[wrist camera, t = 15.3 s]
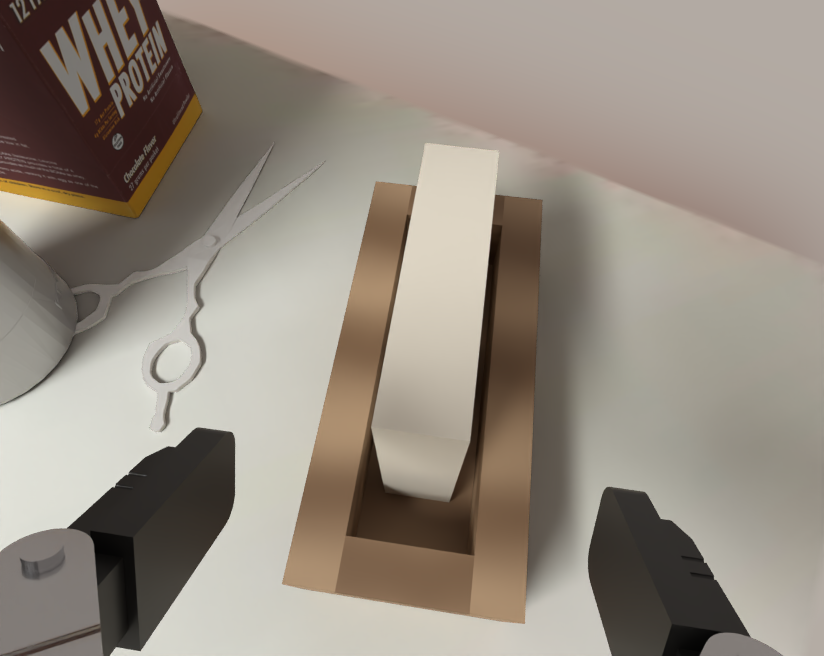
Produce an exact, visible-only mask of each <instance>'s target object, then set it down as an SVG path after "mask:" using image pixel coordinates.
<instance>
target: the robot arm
mask: <svg viewBox="0 0 824 656" xmlns="http://www.w3.org/2000/svg"><path fill="white" fill-rule="evenodd" d="M77 319H78V315H77V303H76V300H75V298H74V295H73V292H72V291H71V289H70V288H69V287H68V285H67V284H66V283H65V281H64V280H63V279H62V278H60V277H59V276H58V275H57V274H56V273H55V272H54V270H53V269H52V268H50V266H49V265H48V264H47V263H46V262H45V261H44V260H43V259H42V258H41V257H40V256H38V255H37V254H35V253H34V252H33V251H32V250H31V249H30V248H29V247H28V246H27V245H26V244H25V243H24V242H23V241H22V240H21V239H20V238H19V237H18V236H17V235H16V234H15V233H14V232H13V231H12V230H11V229H10V228H9V227H7V226H6V225H5V224H4V223H3V222H2V221H1V220H0V405H1V404H3V403H6V402H9V401H11V400H12V399H14V398H16V397H18V396H20V395H21V394H23V393H25V392H27V391H28V390H30V389H31V388H32V387H33V386H35V385H36V384H37V383H39V382H40V381H41V380H43V379H44V378H45V377H46V376H47V375H48V374H49V373H50V372H51V370H52V369H53V368H54V367H55V366H56V365H57V364H58V363H59V361H60V360H61V358H62V357H63V355H64V354H65V352H66V351H67V350H68V348H69V345H70V343H71V341H72V338H73V336H74V334H75V329H76V324H77ZM234 497H235V438H234V435H233V433H232V432H227V431H220V430H213V429H206V428H195V429H194V430H193V431H192V432H191V433H190V434H189V435H188V436H187V437H186V438H185V439H184V440H183V441H182V442H181V443H180V444H179V445H177V446H176V447H169V446H168V447H166V448H164V449H162V450H160V451H157V452H155V453H153V454H151V455H149V456H147V457H145V458H144V459H143V460H142V461H141V462H140V463H138V464H137V465H136V466H135V467H134V468H133V469H132V470H131V471H130V472H129V475H125V476H124V477H123V478H122V479H121V480H120V481H119V482H118V483H116V486H115V488H114V487H112V488H111V489H110V490H109V491H108V492H107V493H105V494H104V495H103V496H102V497H101V498H100V499H99V500H98V501H97V502H95V503H94V504H93V505H92V506H91V507H90V508H89V509H88V510H87V511H86V512H84V513H83V514H82V515H81V516H80V517H79V518H78V519H77V520H76V521H75V522H73V523H72V524H71V525H70V526H69V527H68V528H67V529H51V530H46V531H41V532H38V533H34V534H31V535H29V536H26V537H24V538H22V539H19V540H17V541H16V542H14V543H12V544H10V545H9V546H7V547H6V548H4V549H3V550H2V551H1V552H0V656H110V654H111V653H112V652H113V650H114V649H115V647H120V648H125V649H131V650H137V651H141V649H142V648H143V646H144V645H145V643H146V642H147V641H148V639H149V638H150V636H151V635H152V633H153V632H154V630H155V629H156V627H157V626H158V624H159V623H160V621H161V620H162V618H163V617H164V615H165V614H166V612H167V611H168V609H169V608H170V606H171V605H172V603H173V602H174V600H175V599H176V597H177V596H178V594H179V593H180V591H181V590H182V588H183V587H184V586H185V584H186V583H187V581H188V580H189V578H190V577H191V575H192V574H193V572H194V571H195V569H196V568H197V566H198V565H199V563H200V562H201V560H202V559H203V557H204V556H205V554H206V553H207V551H208V550H209V548H210V547H211V545H212V544H213V542H214V541H215V539H216V538H217V536H218V535H219V533H220V532H221V531H222V529H223V528H224V526H225V525H226V523H227V521H228V519H229V517H230V514H231V511H232V508H233V504H234ZM588 572H589V579H590V583H591V586H592V590H593V593H594V596H595V600H596V603H597V607H598V610H599V613H600V617H601V620H602V624H603V627H604V630H605V634H606V637H607V640H608V644H609V647H610V651H611V654H612V656H783V655H781V654H780V653H779V652H777V651H776V650H774V649H773V648H771V647H769V646H768V645H766V644H764V643H762V642H760V641H758V640H756V639H753V638H751V637H750V635H749V633H748V632H747V630H746V628H745V627H744V625H743V623H742V622H741V620H740V618H739V617H738V615H737V613H736V612H735V610H734V608H733V607H732V605H731V603H730V602H729V600H728V598H727V597H726V595H725V593H724V592H723V590H722V588H721V587H720V585H719V583H718V582H717V580H714V575H713V573H712V572H711V570H710V568H709V567H708V565H707V563H704V558H703V557H702V555H701V553H700V552H699V550H698V548H697V547H696V545H695V543H694V542H693V540H692V539H691V538H690V537H689V536H688V535H687V534H686V533H685V532H683V531H682V530H681V529H680V528H679V527H678V526H677V525H676V524H674V523H673V522H672V521H671V520H664V519H660V517H659V515H658V513H657V511H656V510H655V508H654V506H653V504H652V502H651V500H650V499H649V497H648V495H647V494H646V493H645V492H641V491H634V490H627V489H620V488H613V487H607V488H606V489H605V490H604V492H603V494H602V498H601V502H600V506H599V510H598V515H597V519H596V523H595V527H594V531H593V535H592V539H591V544H590V548H589V555H588Z"/></svg>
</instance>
